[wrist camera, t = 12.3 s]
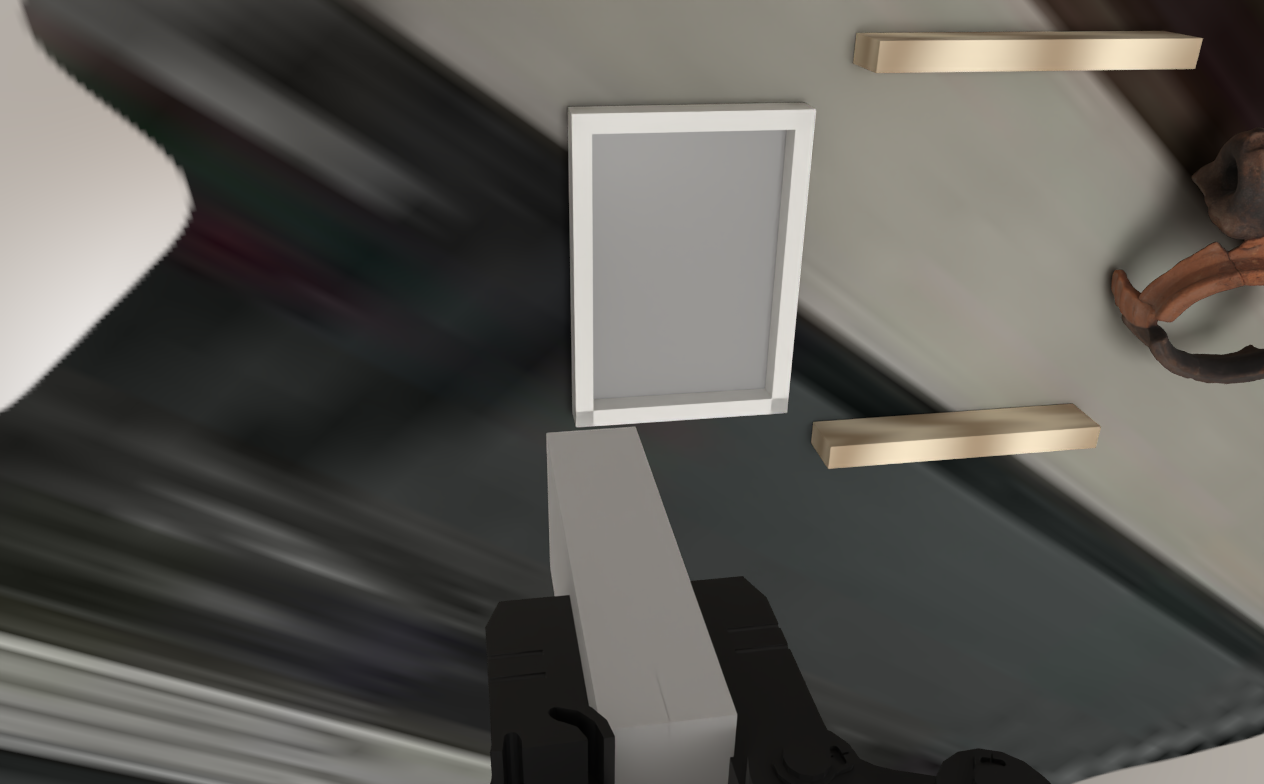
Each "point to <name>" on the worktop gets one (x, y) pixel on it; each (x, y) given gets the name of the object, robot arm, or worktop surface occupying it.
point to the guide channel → (1008, 425)
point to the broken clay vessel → (1209, 266)
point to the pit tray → (685, 258)
